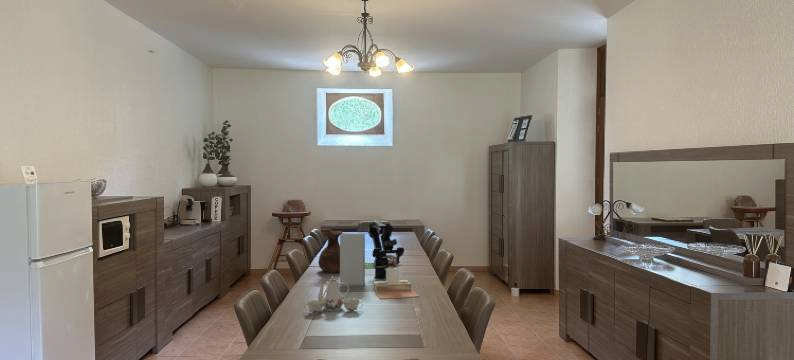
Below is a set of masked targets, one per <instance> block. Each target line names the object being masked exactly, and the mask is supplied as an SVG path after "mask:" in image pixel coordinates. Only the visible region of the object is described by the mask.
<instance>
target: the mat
mask: <svg viewBox="0 0 794 360" xmlns="http://www.w3.org/2000/svg"><path fill="white" fill-rule="evenodd" d="M375 295H376V296H377V297H378V299H380V300H388V299H389V300H390V299H407V298H420V295H419V294H418V293H417V292H416V291H414V290H413V289H411V291H393V292H376V291H375Z"/></svg>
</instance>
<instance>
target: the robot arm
mask: <svg viewBox="0 0 794 360" xmlns="http://www.w3.org/2000/svg"><path fill="white" fill-rule="evenodd" d="M393 232H394V227H393V226H392V225H390V223H385V224H384V223H382V222H381V220H378V219H376V220H372V222H371V223H370V224H369V225H368V226H367V233H368V236H369V237H370V238H371V239H372V244H373V246H374V248H373V249H372V255H371V256H372V257H373V258H374V261H373V262H372V263H373V268H375V269H374V279H386V268H388V263H389V261H388V259H387V256H386V255H393V254H395V257H396V259H397V263H398V265H399V264H400V263H399V261H400V258H401V257H402V256H404V253H405V248H404V247H403V246H402V247H397V246H396V245H398V241H397V239H396V238H395V239H394V238H393V239H392V240H391V237H392V235H393ZM394 246H396V247H397V248H396V249H394V248H395V247H394Z"/></svg>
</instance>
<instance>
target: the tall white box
mask: <svg viewBox="0 0 794 360" xmlns="http://www.w3.org/2000/svg"><path fill="white" fill-rule="evenodd" d="M339 245H340V272H339V283H346V284H347V285H348V286H351V285H352V286H364V284H365V283H366V269H365V263H366V233H342V234H341V235H340V236H339ZM341 285H342V286H343V285H345V284H341ZM347 285H346V286H347Z"/></svg>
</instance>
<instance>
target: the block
mask: <svg viewBox="0 0 794 360" xmlns="http://www.w3.org/2000/svg"><path fill="white" fill-rule="evenodd" d="M397 268H398V267H397ZM397 268H386V277H385V281H386V282H387V283H388V284H389V285H398V284H399V280H400V270H399V268H398V269H397Z"/></svg>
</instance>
